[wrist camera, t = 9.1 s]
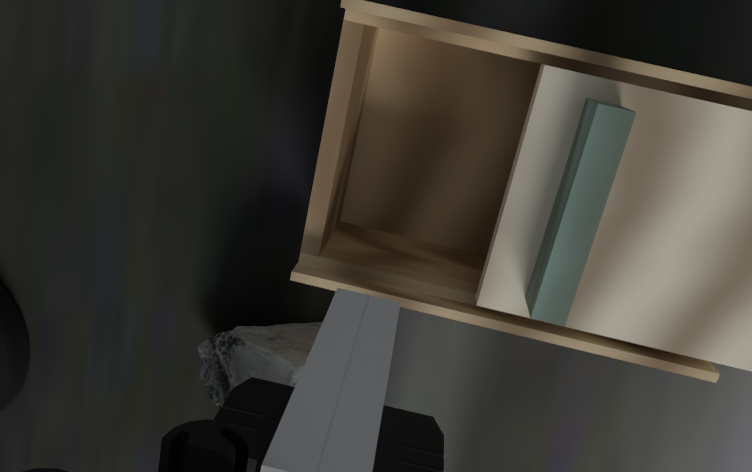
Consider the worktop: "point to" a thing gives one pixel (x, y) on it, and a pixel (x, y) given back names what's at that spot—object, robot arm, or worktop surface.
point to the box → (446, 164)
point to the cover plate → (629, 218)
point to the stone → (255, 356)
